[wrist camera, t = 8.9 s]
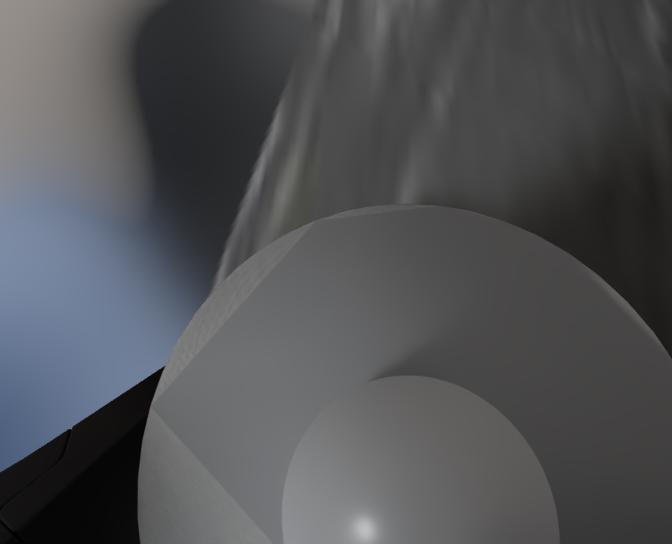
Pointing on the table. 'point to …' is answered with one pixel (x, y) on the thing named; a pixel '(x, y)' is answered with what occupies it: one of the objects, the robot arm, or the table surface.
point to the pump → (411, 395)
